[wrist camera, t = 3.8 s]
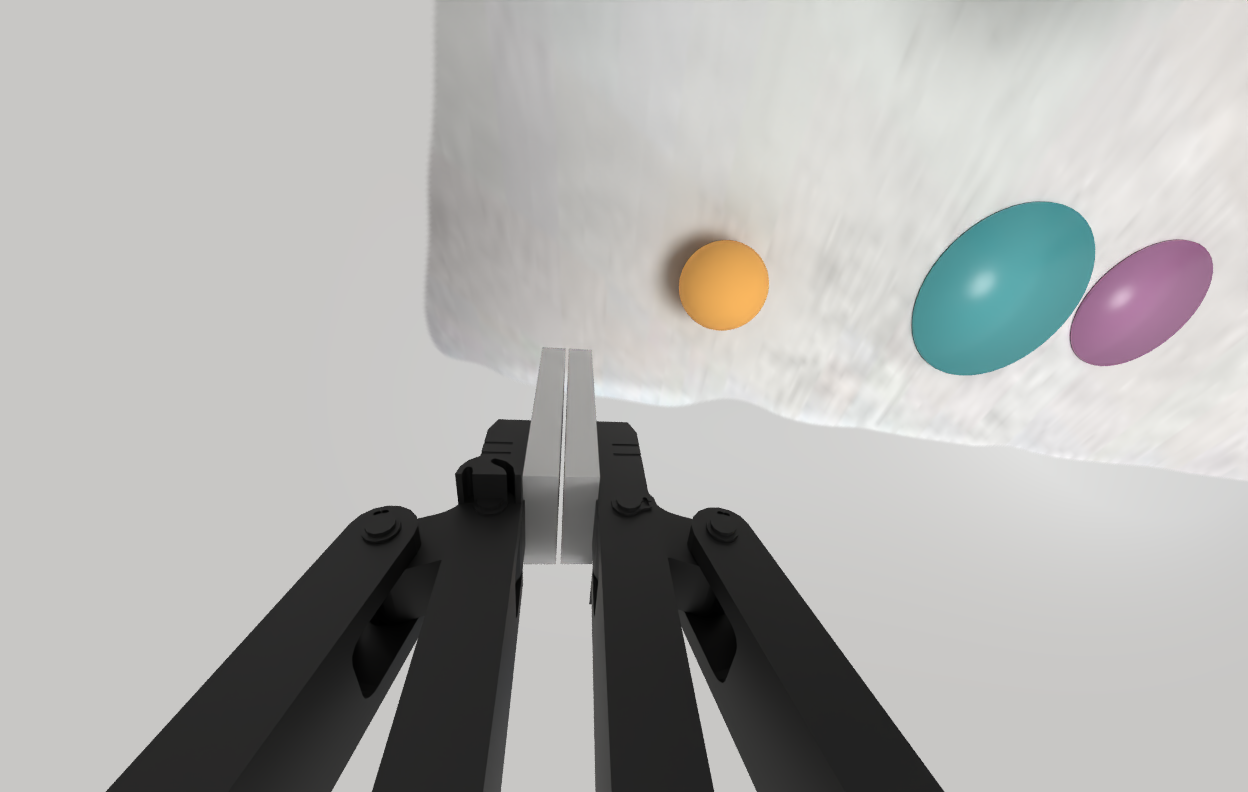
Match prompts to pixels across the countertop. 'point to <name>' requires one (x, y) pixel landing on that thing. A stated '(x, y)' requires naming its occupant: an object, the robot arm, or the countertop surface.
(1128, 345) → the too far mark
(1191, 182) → the countertop surface
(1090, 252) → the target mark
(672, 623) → the robot arm
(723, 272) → the ball
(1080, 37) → the countertop surface
